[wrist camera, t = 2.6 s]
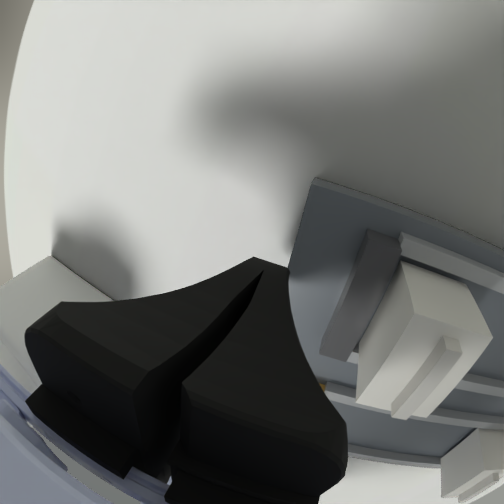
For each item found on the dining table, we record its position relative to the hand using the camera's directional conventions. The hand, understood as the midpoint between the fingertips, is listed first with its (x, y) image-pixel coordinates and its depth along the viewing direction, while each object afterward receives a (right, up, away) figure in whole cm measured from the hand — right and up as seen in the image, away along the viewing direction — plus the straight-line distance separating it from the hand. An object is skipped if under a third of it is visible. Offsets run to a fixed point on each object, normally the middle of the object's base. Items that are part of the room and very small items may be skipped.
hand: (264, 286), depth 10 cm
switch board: (+10, -6, +2) cm, 12 cm away
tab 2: (+14, -11, +2) cm, 18 cm away
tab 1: (+6, -1, 0) cm, 6 cm away
